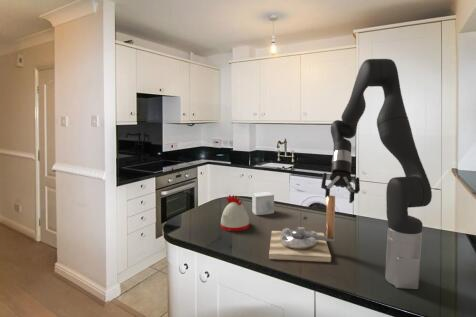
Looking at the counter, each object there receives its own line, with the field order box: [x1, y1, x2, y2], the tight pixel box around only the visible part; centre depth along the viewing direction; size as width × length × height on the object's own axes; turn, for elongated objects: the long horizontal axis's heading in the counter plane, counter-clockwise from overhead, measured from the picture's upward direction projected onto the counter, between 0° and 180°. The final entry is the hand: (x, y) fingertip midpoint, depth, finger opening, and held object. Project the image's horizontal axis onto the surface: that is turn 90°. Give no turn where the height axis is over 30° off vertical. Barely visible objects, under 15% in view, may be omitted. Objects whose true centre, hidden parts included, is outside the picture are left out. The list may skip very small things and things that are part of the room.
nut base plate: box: [268, 230, 332, 263], centre depth 120 cm, size 22×22×2 cm
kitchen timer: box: [220, 194, 251, 232], centre depth 144 cm, size 14×14×15 cm
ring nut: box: [280, 195, 336, 250], centre depth 117 cm, size 20×14×20 cm
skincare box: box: [251, 191, 275, 216], centre depth 162 cm, size 10×6×10 cm, turn 106°
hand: (339, 200), depth 117 cm, fingers open, 8 cm apart
